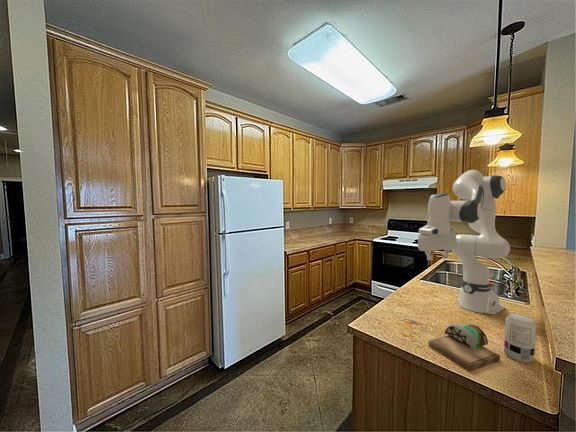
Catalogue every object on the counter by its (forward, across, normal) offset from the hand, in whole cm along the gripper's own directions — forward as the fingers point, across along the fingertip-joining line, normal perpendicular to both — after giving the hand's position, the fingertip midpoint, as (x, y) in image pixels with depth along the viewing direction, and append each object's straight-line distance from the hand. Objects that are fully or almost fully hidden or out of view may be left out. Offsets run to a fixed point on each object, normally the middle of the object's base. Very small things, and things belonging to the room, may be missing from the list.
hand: (437, 259), depth 114 cm
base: (+31, +9, +19) cm, 37 cm away
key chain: (+32, +8, -3) cm, 33 cm away
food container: (+26, -3, +16) cm, 31 cm away
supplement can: (+31, -8, +28) cm, 43 cm away
